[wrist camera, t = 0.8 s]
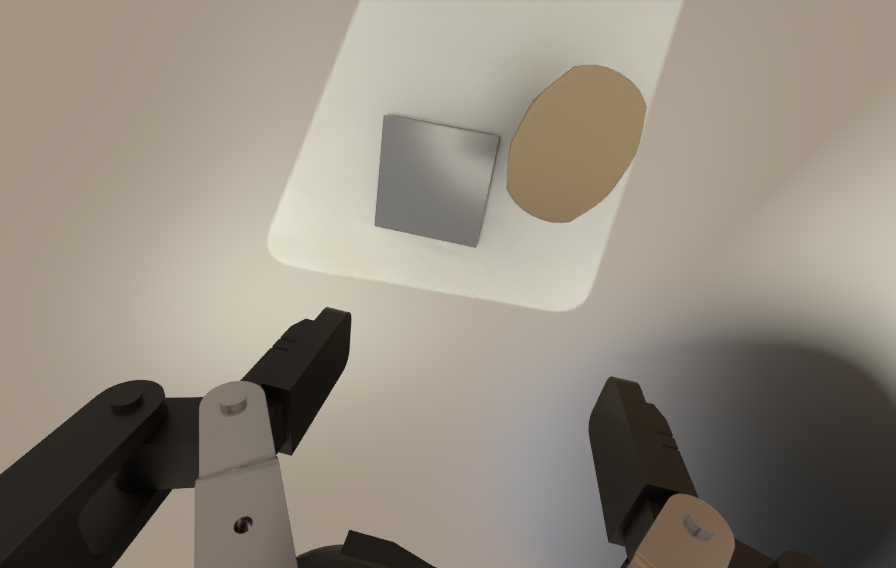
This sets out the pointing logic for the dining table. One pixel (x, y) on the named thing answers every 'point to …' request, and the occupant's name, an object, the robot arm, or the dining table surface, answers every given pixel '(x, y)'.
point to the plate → (434, 179)
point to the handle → (575, 143)
